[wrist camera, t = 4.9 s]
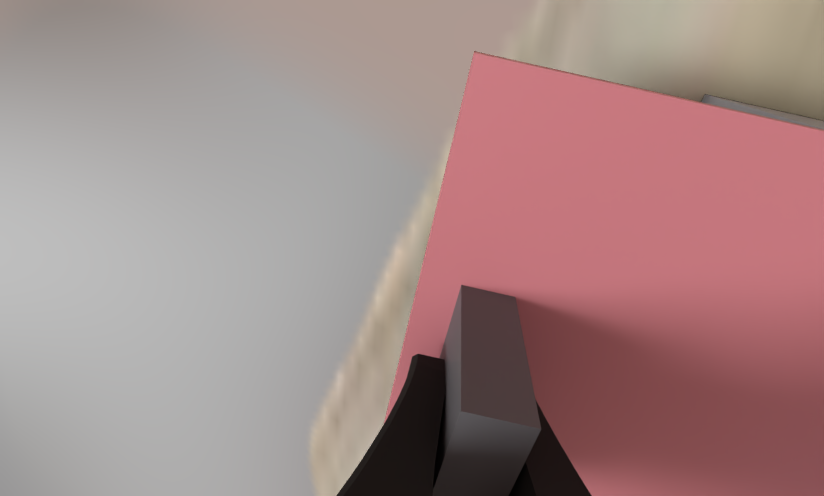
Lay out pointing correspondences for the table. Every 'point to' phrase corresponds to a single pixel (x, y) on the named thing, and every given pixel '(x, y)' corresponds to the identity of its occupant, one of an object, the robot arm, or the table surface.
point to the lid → (624, 290)
